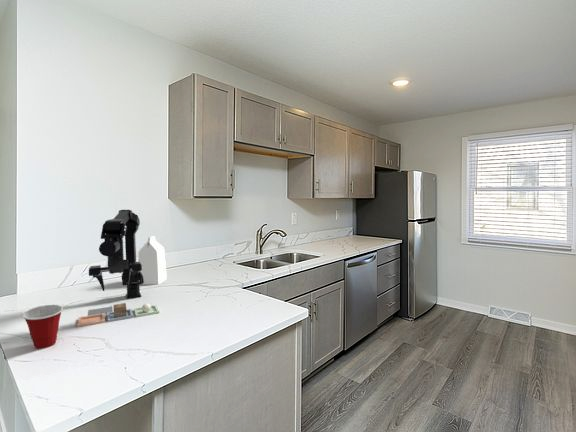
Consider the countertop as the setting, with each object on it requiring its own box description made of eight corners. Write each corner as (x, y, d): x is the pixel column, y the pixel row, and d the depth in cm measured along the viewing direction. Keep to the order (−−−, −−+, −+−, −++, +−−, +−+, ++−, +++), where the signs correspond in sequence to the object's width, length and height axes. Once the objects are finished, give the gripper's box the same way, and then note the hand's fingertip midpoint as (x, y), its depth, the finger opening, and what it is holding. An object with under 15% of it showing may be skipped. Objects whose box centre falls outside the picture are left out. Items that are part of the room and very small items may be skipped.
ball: (141, 311, 138) (141, 303, 138) (150, 309, 140) (150, 301, 139) (142, 313, 135) (142, 305, 135) (151, 312, 137) (151, 304, 136)
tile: (88, 310, 139) (88, 310, 139) (112, 307, 144) (112, 306, 144) (87, 317, 131) (87, 316, 131) (112, 313, 136) (112, 312, 136)
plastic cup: (20, 356, 101) (17, 318, 100) (28, 341, 110) (26, 307, 109) (62, 348, 106) (60, 312, 105) (67, 335, 115) (65, 302, 114)
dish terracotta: (78, 320, 129) (78, 317, 129) (104, 315, 133) (104, 313, 133) (77, 328, 121) (77, 325, 121) (104, 323, 126) (104, 320, 126)
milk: (158, 284, 180) (157, 238, 178) (138, 284, 180) (136, 238, 178) (166, 278, 192) (165, 235, 190) (147, 278, 192) (146, 235, 190)
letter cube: (113, 315, 133) (113, 304, 133) (125, 313, 135) (125, 302, 135) (114, 319, 129) (113, 307, 129) (126, 316, 131) (126, 305, 131)
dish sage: (134, 311, 139) (133, 308, 139) (156, 307, 143) (156, 304, 143) (135, 318, 131) (135, 315, 131) (159, 314, 136) (159, 311, 136)
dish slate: (107, 315, 134) (107, 312, 134) (131, 311, 138) (131, 308, 138) (107, 323, 126) (107, 320, 126) (133, 318, 131) (133, 315, 131)
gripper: (87, 257, 118) (88, 298, 120) (142, 252, 127) (143, 291, 129) (88, 252, 128) (90, 290, 129) (140, 248, 137) (141, 284, 138)
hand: (116, 289), depth 131 cm, fingers open, 9 cm apart
